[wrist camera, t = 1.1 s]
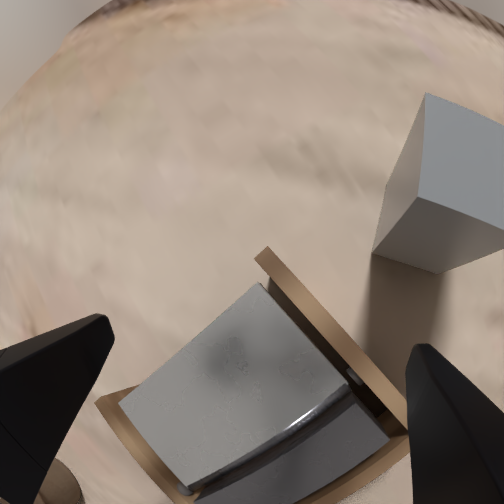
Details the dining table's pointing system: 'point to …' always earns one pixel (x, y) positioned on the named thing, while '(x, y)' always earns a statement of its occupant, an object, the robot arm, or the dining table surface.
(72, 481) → the flower pot
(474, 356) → the dining table surface
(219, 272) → the dining table surface
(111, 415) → the trap frame
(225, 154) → the dining table surface
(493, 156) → the grey rectangular block
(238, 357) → the trapdoor
